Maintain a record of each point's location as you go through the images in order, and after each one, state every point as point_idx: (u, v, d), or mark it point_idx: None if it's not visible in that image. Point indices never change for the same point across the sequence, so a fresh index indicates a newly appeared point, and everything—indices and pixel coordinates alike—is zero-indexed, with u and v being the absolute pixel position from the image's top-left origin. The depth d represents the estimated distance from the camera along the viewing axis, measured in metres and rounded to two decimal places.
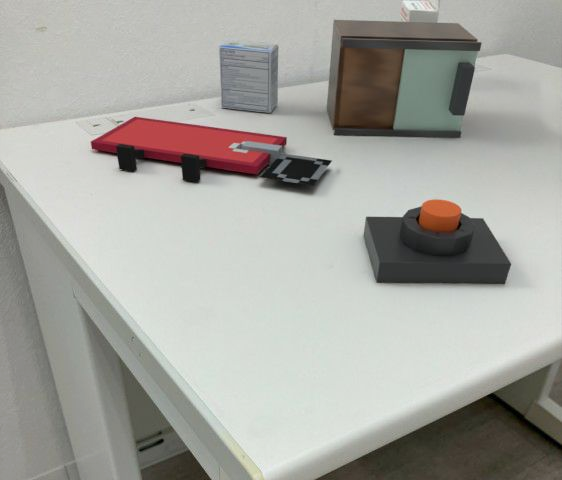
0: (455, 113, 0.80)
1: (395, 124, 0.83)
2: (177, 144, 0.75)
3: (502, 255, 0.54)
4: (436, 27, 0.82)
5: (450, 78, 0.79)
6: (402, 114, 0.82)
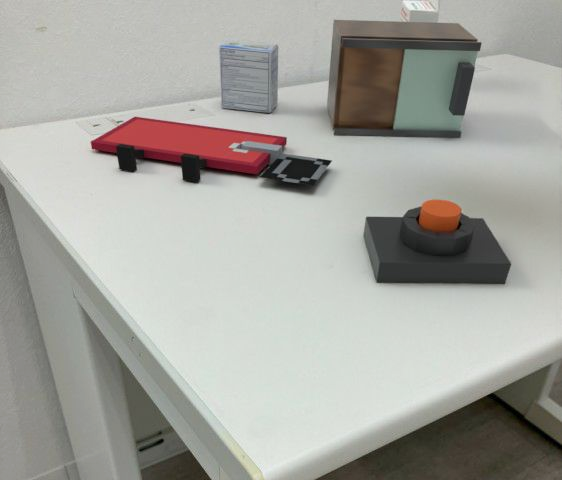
0: (455, 113, 0.80)
1: (395, 124, 0.83)
2: (177, 144, 0.75)
3: (502, 255, 0.54)
4: (436, 27, 0.82)
5: (450, 78, 0.79)
6: (402, 114, 0.82)
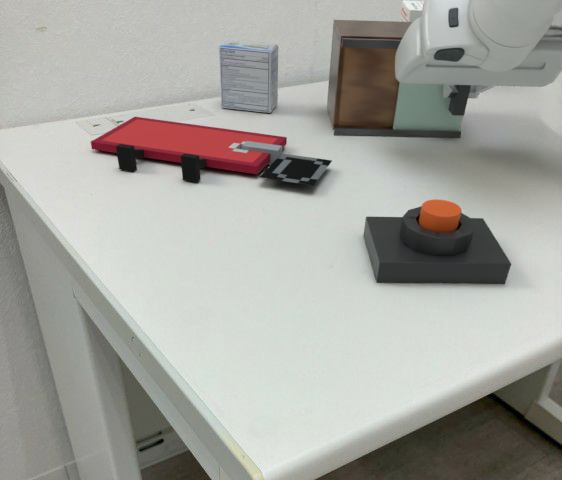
0: (455, 113, 0.80)
1: (395, 124, 0.83)
2: (177, 144, 0.75)
3: (502, 255, 0.54)
4: None
5: None
6: (402, 114, 0.82)
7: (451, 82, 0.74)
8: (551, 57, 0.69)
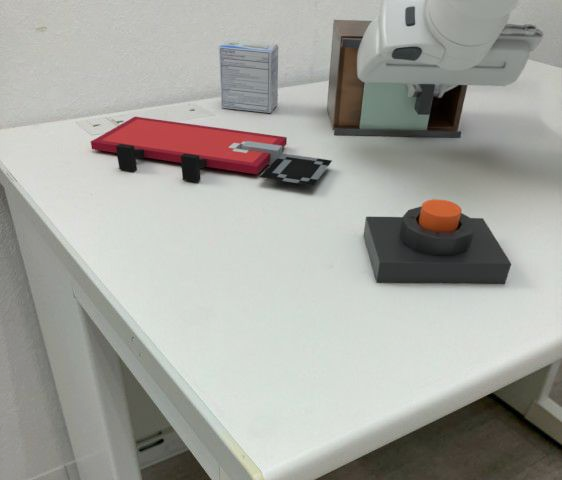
0: (420, 112, 0.80)
1: (361, 123, 0.83)
2: (177, 144, 0.75)
3: (502, 255, 0.54)
4: None
5: None
6: (368, 113, 0.82)
7: (414, 81, 0.74)
8: (511, 56, 0.69)
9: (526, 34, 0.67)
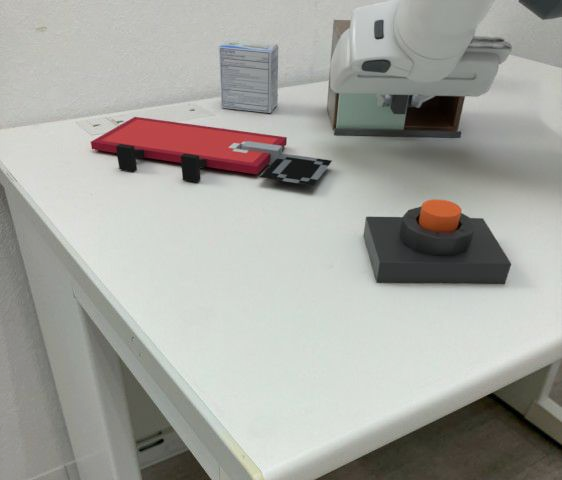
0: (396, 112, 0.80)
1: (338, 123, 0.83)
2: (177, 144, 0.75)
3: (502, 255, 0.54)
4: None
5: None
6: (344, 113, 0.82)
7: (386, 91, 0.74)
8: (480, 68, 0.69)
9: (494, 47, 0.67)
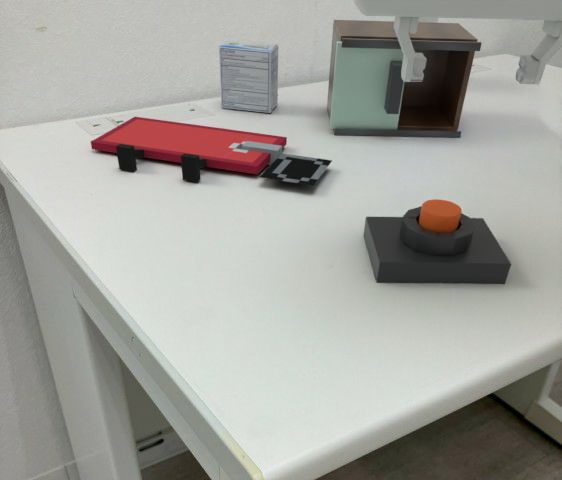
0: (389, 112, 0.80)
1: (331, 123, 0.83)
2: (177, 144, 0.75)
3: (502, 255, 0.54)
4: (436, 27, 0.82)
5: (383, 76, 0.79)
6: (337, 113, 0.82)
7: (455, 3, 0.42)
8: None
9: None
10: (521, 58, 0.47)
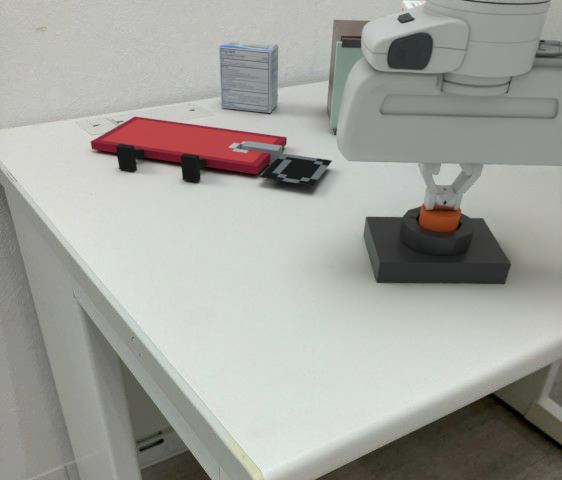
0: None
1: (331, 123, 0.83)
2: (177, 144, 0.75)
3: (502, 255, 0.54)
4: None
5: None
6: (337, 113, 0.82)
7: (425, 152, 0.49)
8: None
9: None
10: None
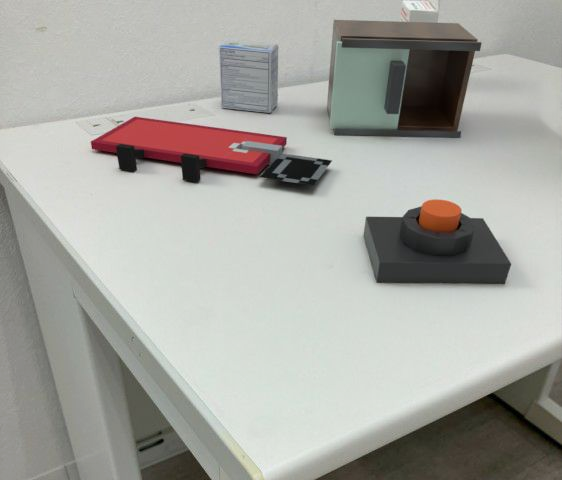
0: (389, 112, 0.80)
1: (331, 123, 0.83)
2: (177, 144, 0.75)
3: (502, 255, 0.54)
4: (436, 27, 0.82)
5: (383, 76, 0.79)
6: (337, 113, 0.82)
7: None
8: None
9: None
10: None
